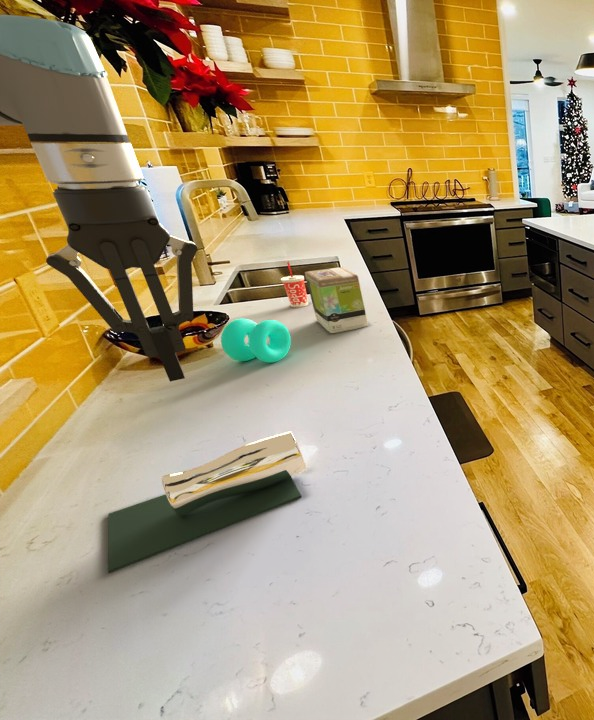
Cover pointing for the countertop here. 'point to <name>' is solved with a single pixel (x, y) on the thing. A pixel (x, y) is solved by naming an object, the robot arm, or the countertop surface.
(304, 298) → the beverage cup
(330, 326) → the tea box
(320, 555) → the countertop surface
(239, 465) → the beer glass
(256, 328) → the donuts
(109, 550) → the mat
